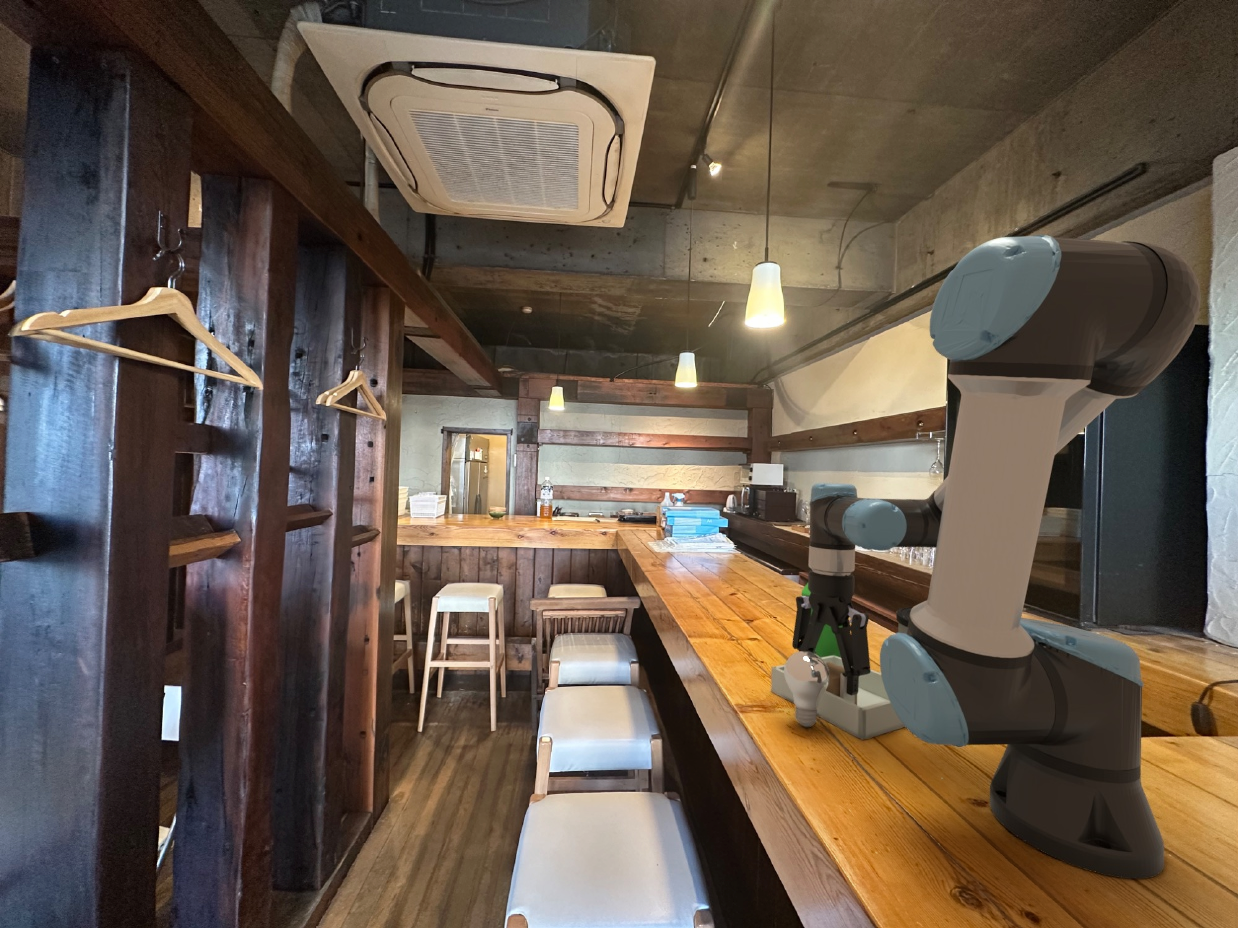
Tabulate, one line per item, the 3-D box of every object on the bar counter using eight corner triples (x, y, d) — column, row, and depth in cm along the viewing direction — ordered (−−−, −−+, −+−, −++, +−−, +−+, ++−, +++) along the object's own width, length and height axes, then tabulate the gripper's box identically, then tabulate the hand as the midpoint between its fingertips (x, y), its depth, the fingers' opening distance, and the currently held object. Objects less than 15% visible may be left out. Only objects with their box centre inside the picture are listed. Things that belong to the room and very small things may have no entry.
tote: (929, 719, 87) (929, 692, 87) (862, 740, 80) (862, 710, 80) (833, 677, 105) (833, 654, 105) (771, 691, 97) (771, 667, 97)
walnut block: (832, 715, 87) (833, 678, 87) (804, 700, 92) (805, 666, 92) (857, 708, 89) (857, 673, 90) (828, 694, 95) (829, 661, 95)
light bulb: (835, 726, 84) (836, 651, 84) (818, 742, 79) (819, 662, 79) (794, 712, 89) (795, 641, 89) (775, 726, 84) (776, 651, 84)
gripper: (898, 581, 84) (894, 723, 84) (802, 559, 102) (799, 676, 102) (867, 585, 80) (863, 733, 80) (773, 562, 99) (770, 682, 98)
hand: (827, 701), depth 91 cm, fingers open, 7 cm apart
